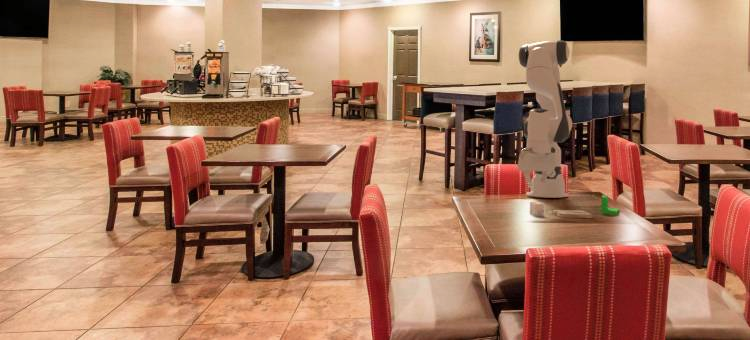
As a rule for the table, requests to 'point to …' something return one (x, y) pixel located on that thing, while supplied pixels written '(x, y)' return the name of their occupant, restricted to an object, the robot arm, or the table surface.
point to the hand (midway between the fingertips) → (535, 182)
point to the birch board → (572, 214)
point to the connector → (537, 209)
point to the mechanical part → (605, 207)
